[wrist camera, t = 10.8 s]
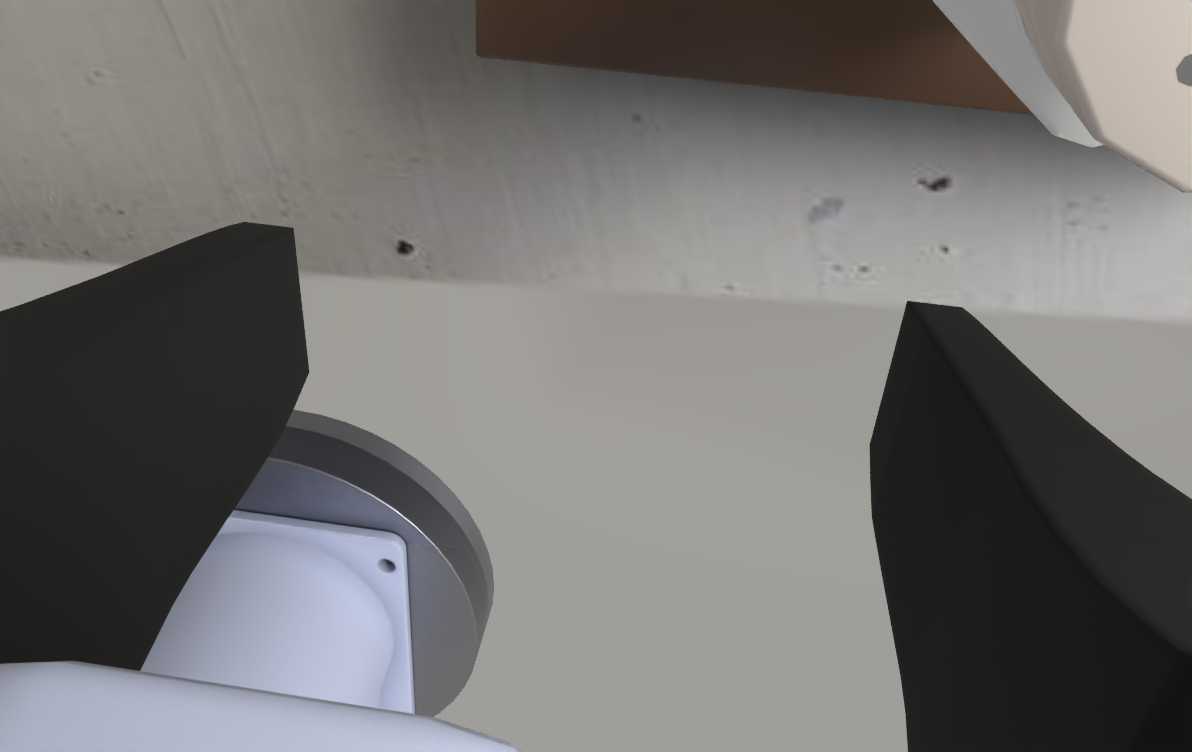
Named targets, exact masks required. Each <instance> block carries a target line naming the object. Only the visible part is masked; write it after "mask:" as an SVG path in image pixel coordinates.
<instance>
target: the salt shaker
mask: <svg viewBox="0 0 1192 752" xmlns="http://www.w3.org/2000/svg"><path fill="white" fill-rule="evenodd" d="M932 1H933V2H934V3H935V4H936V5H937V6H938V7H939V9H940V10H941V11H942V12H943V13H944V14H945V15H946V17H947V18H948V19H949V20H950V21H951V22H952V23H953V25H954V26H955V27H956V28H957V29H958V30H959V31H960V33H961V34H962V35H963V36H964V37H965V38H966V39H967V41H968V42H969V43H970V44H971V45H972V46H973V47H974V49H975V50H976V51H977V52H978V53H979V54H980V55H981V56H982V58H983V59H984V60H985V61H986V62H987V63H988V64H989V65H990V66H991V68H992V69H993V70H994V71H995V72H996V73H997V74H998V75H999V77H1000V78H1001V79H1002V80H1003V81H1004V82H1005V83H1006V84H1007V85H1008V87H1009V88H1010V89H1011V90H1012V91H1013V92H1014V93H1015V94H1016V95H1017V97H1018V98H1019V99H1020V100H1021V101H1022V102H1023V103H1024V104H1025V105H1026V106H1027V107H1028V108H1029V110H1030V111H1031V112H1032V113H1033V114H1034V115H1035V116H1036V117H1037V118H1038V119H1039V120H1040V122H1041V123H1042V124H1043V125H1044V126H1045V127H1046V128H1047V129H1048V130H1049V131H1050V132H1051V133H1052V135H1054V136H1057V137H1060V138H1063V139H1066V140H1069V141H1072V142H1075V143H1078V144H1082V145H1085V146H1088V147H1097V146H1101V145H1105V146H1106V147H1108V148H1110V149H1111V150H1113V151H1115V152H1116V153H1118V154H1120V155H1121V156H1123V157H1125V158H1126V159H1128V160H1130V161H1131V162H1133V163H1135V164H1136V165H1138V166H1140V167H1141V168H1143V169H1145V170H1146V171H1148V172H1150V173H1151V174H1153V175H1155V176H1156V177H1158V178H1160V179H1161V180H1163V181H1165V182H1166V183H1168V184H1169V185H1171V186H1173V187H1174V188H1176V189H1178V190H1179V191H1181V192H1192V0H932Z"/></svg>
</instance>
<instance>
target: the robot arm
mask: <svg viewBox="0 0 1192 752" xmlns="http://www.w3.org/2000/svg"><path fill="white" fill-rule="evenodd" d="M308 374H309V366H308V357H307V349H306V339H305V330H304V320H303V311H302V302H301V293H300V284H299V274H298V265H297V256H296V247H295V238H294V229H293V228H290V227H282V226H274V225H265V224H257V223H248V222H242V223H238V224H234V225H230V226H227V227H224V228H220V229H218V230H215V231H212V232H209V233H206V234H204V235H201V236H198V237H195V238H193V239H190V240H188V241H185V242H183V243H180V244H178V245H175V246H173V247H170V248H168V249H165V250H163V251H160V252H158V253H155V254H153V255H150V256H148V257H146V258H143V259H141V260H138V261H136V262H133V263H131V264H128V265H126V266H123V267H121V268H118V269H116V270H113V271H111V272H108V273H106V274H103V275H101V276H98V277H96V278H93V279H90V280H87V281H85V282H82V283H80V284H77V285H74V286H71V287H68V288H66V289H63V290H60V291H58V292H55V293H52V294H49V295H46V296H44V297H41V298H38V299H35V300H33V301H30V302H27V303H24V304H22V305H19V306H16V307H13V308H10V309H7V310H3V311H1V312H0V752H520V751H519V750H518V749H517V748H515V747H514V746H513V745H512V744H511V743H509V742H507V741H504V740H501V739H498V738H495V737H492V736H489V735H486V734H483V733H480V732H477V731H474V730H471V729H468V728H465V727H462V726H459V725H456V724H453V723H450V722H447V721H444V720H441V719H438V718H435V717H431V716H424V715H418V714H415V701H414V682H413V664H412V645H411V626H410V607H409V589H408V570H407V551H406V545H405V542H404V541H403V540H402V538H401V537H399V536H398V535H396V534H394V533H390V532H385V531H378V530H371V529H364V528H357V527H350V526H343V525H336V524H329V523H322V522H315V521H308V520H301V519H294V518H287V517H280V516H273V515H266V514H259V513H252V512H245V511H237V510H234V508H235V507H236V505H237V504H238V502H239V501H240V499H241V498H242V496H243V494H244V493H245V491H246V490H247V488H248V487H249V485H250V484H251V482H252V481H253V479H254V478H255V476H256V474H257V473H258V471H259V470H260V468H261V467H262V465H263V464H264V462H265V460H266V459H267V457H268V456H269V454H270V453H271V451H272V449H273V448H274V446H275V445H276V443H277V441H278V440H279V438H280V437H281V435H282V432H283V430H284V428H285V426H286V424H287V422H288V420H289V418H290V415H291V413H292V411H293V409H294V407H295V404H296V402H297V400H298V397H299V395H300V393H301V390H302V388H303V385H304V383H305V381H306V378H307V376H308ZM870 475H871V476H870V481H871V506H872V519H873V526H874V532H875V538H876V543H877V549H878V554H879V560H880V565H881V571H882V577H883V583H884V588H885V593H886V599H887V604H888V610H889V615H890V620H891V626H892V632H893V637H894V642H895V648H896V653H897V658H898V664H899V670H900V675H901V682H902V689H903V697H904V705H905V713H906V727H907V741H908V752H1192V499H1191V498H1189V497H1188V496H1186V495H1185V494H1183V493H1182V492H1180V491H1179V490H1177V489H1176V488H1174V487H1173V486H1171V485H1170V484H1169V483H1167V482H1166V481H1164V480H1163V479H1161V478H1160V477H1158V476H1157V475H1155V474H1154V473H1152V472H1151V471H1150V470H1148V469H1147V468H1145V467H1144V466H1143V465H1141V464H1140V463H1139V462H1137V461H1136V460H1135V459H1133V458H1132V457H1131V456H1129V455H1128V454H1126V453H1125V452H1124V451H1123V450H1122V449H1120V448H1119V447H1118V446H1117V445H1115V444H1114V443H1113V442H1112V441H1111V440H1109V439H1108V438H1107V437H1106V436H1104V435H1103V434H1102V433H1100V432H1099V431H1098V430H1097V429H1096V428H1095V427H1093V426H1092V425H1091V424H1090V423H1088V422H1087V421H1086V420H1085V419H1084V418H1082V417H1081V416H1080V415H1079V414H1078V413H1077V412H1076V411H1074V410H1073V409H1072V408H1071V407H1070V406H1069V405H1067V404H1066V403H1065V402H1064V401H1063V400H1062V399H1061V398H1060V397H1059V396H1057V395H1056V394H1055V393H1054V392H1053V391H1052V390H1051V389H1050V388H1048V387H1047V386H1046V385H1045V384H1044V383H1043V382H1042V381H1041V380H1040V379H1039V378H1038V377H1037V376H1036V375H1035V374H1034V373H1033V372H1031V371H1030V370H1029V369H1028V368H1027V367H1026V366H1025V365H1024V364H1023V363H1022V362H1021V361H1020V360H1019V359H1018V358H1017V357H1016V356H1015V355H1014V354H1013V353H1012V352H1011V351H1010V350H1008V349H1007V348H1006V347H1005V346H1004V345H1003V344H1002V343H1001V342H1000V341H999V340H998V339H997V338H996V337H995V336H994V335H993V334H992V333H991V332H990V331H989V330H988V329H987V328H985V327H984V326H983V325H982V324H981V323H980V322H979V321H978V320H977V319H976V318H975V317H973V316H972V315H971V314H970V313H969V312H967V311H966V310H965V309H964V308H962V307H954V306H945V305H937V304H928V303H920V302H912V301H907V304H906V308H905V312H904V316H903V320H902V324H901V327H900V331H899V335H898V339H897V342H896V346H895V350H894V354H893V358H892V362H891V366H890V369H889V373H888V377H887V381H886V385H885V388H884V393H883V397H882V400H881V404H880V408H879V411H878V415H877V419H876V423H875V427H874V431H873V435H872V438H871V442H870ZM384 559H387V560H390V561H391V562H393V563H389V562H386V561H385V560H384Z"/></svg>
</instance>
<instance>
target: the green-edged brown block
mask: <svg viewBox="0 0 1192 752" xmlns="http://www.w3.org/2000/svg"><path fill="white" fill-rule="evenodd" d="M476 53H477V56H479V57H483V58H492V59H502V60H511V61H521V62H531V63H540V64H550V65H559V66H569V67H579V68H588V69H598V70H607V71H617V72H627V73H636V74H646V75H655V76H665V77H675V78H684V79H694V80H703V81H713V82H723V83H732V84H742V85H752V86H761V87H771V88H780V89H790V90H800V91H809V92H819V93H828V94H838V95H848V96H857V97H867V98H876V99H886V100H896V101H905V102H915V103H924V104H934V105H944V106H953V107H963V108H973V109H982V110H992V111H1001V112H1011V113H1021V114H1030V115H1034V114H1033V113H1032V112H1031V111H1030V110H1029V108H1028V107H1027V106H1026V105H1025V104H1024V103H1023V102H1022V101H1021V100H1020V99H1019V98H1018V97H1017V95H1016V94H1015V93H1014V92H1013V91H1012V90H1011V89H1010V88H1009V87H1008V85H1007V84H1006V83H1005V82H1004V81H1003V80H1002V79H1001V78H1000V77H999V75H998V74H997V73H996V72H995V71H994V70H993V69H992V68H991V66H990V65H989V64H988V63H987V62H986V61H985V60H984V59H983V58H982V56H981V55H980V54H979V53H978V52H977V51H976V50H975V49H974V47H973V46H972V45H971V44H970V43H969V42H968V41H967V39H966V38H965V37H964V36H963V35H962V34H961V33H960V31H959V30H958V29H957V28H956V27H955V26H954V25H953V23H952V22H951V21H950V20H949V19H948V18H947V17H946V15H945V14H944V13H943V12H942V11H941V10H940V9H939V7H938V6H937V5H936V4H935V3H934V2H933V1H932V0H476Z"/></svg>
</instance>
